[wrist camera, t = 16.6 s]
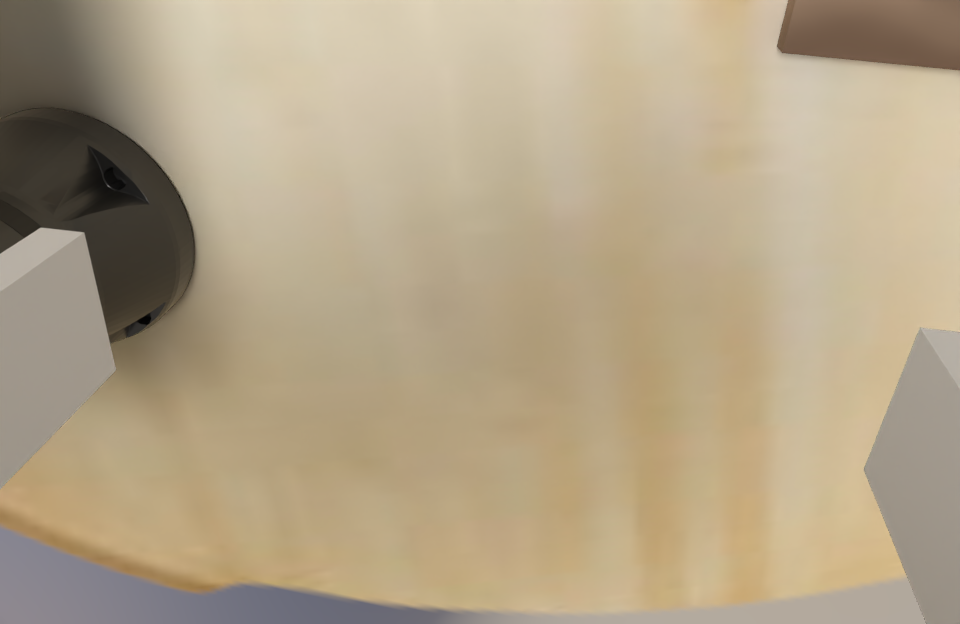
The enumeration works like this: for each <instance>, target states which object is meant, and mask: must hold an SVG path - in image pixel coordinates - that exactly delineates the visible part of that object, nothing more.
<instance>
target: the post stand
mask: <svg viewBox="0 0 960 624" xmlns="http://www.w3.org/2000/svg"><path fill="white" fill-rule="evenodd" d="M777 47H778V48H779V49H780V51H781V52H782V53H790V54H800V55H810V56H821V57H831V58H841V59H851V60H861V61H872V62H882V63H892V64H902V65H912V66H922V67H933V68H943V69H953V70H960V0H789V1H788V5H787V9H786V13H785V16H784V20H783V24H782V28H781V32H780V36H779V40H778V44H777Z"/></svg>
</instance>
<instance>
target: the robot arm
mask: <svg viewBox="0 0 960 624" xmlns="http://www.w3.org/2000/svg"><path fill="white" fill-rule="evenodd" d="M193 263H194V244H193V236H192V231H191V227H190V223H189V220H188V217H187V214H186V211H185V209H184V206H183V204H182V202H181V200H180V198H179V196H178V194H177V193H176V191H175V189H174V187H173V186H172V184H171V183H170V181H169V180H168V178H167V177H166V176H165V174H164V173H163V172H162V171H161V169H160V168H159V167H158V166H157V165H156V163H155V162H154V161H153V160H152V159H151V158H150V157H149V156H148V155H147V154H146V153H145V152H144V151H143V150H142V149H141V148H139V147H138V146H137V145H136V144H135V143H133V142H132V141H131V140H130V139H128V138H127V137H125V136H124V135H123V134H121V133H120V132H118V131H116V130H115V129H113V128H112V127H110V126H108V125H106V124H104V123H102V122H100V121H98V120H96V119H93V118H91V117H88V116H86V115H83V114H79V113H76V112H72V111H68V110H62V109H54V108H36V109H29V110H24V111H20V112H17V113H14V114H12V115H9V116H7V117H4V118H2V119H0V489H1V488H2V487H3V486H4V485H5V484H6V483H7V482H8V481H9V480H10V479H11V478H12V477H13V476H14V475H15V473H16V472H17V471H18V470H19V469H20V468H21V467H22V466H23V465H24V464H25V463H26V462H27V461H28V460H29V459H30V458H31V457H32V456H33V455H34V454H35V453H36V452H37V451H38V450H39V449H40V448H41V447H42V446H43V445H44V444H45V443H46V442H47V441H48V440H49V439H50V438H51V437H52V436H53V434H54V433H55V432H56V431H57V430H58V429H59V428H60V427H61V426H62V425H63V424H64V423H65V422H66V421H67V420H68V419H69V418H70V417H71V416H72V415H73V414H74V413H75V412H76V411H77V410H78V409H79V408H80V407H81V406H82V405H83V404H84V403H85V402H86V401H87V400H88V399H89V398H90V397H91V396H92V394H93V393H94V392H95V391H96V390H97V389H98V388H99V387H100V386H101V385H102V384H103V383H104V382H105V381H106V380H107V379H108V378H109V377H110V376H111V375H112V374H113V373H114V372H115V371H116V367H115V363H114V358H113V354H112V350H111V346H110V344H111V343H114V342H117V341H120V340H122V339H125V338H127V337H130V336H133V335H135V334H138V333H140V332H142V331H143V330H145V329H147V328H148V327H150V326H151V325H153V324H154V323H156V322H157V321H158V320H159V319H160V318H161V317H162V316H163V315H164V314H165V313H166V312H167V311H168V310H169V309H170V308H171V307H172V306H173V305H174V304H175V303H176V302H177V301H178V300H179V299H180V297H181V296H182V294H183V293H184V291H185V289H186V287H187V285H188V283H189V280H190V277H191V274H192V269H193ZM864 472H865V474H866V477H867V479H868V482H869V484H870V486H871V489H872V491H873V494H874V496H875V499H876V501H877V504H878V506H879V509H880V511H881V514H882V516H883V518H884V521H885V523H886V526H887V528H888V531H889V533H890V536H891V538H892V541H893V543H894V546H895V548H896V551H897V553H898V555H899V558H900V560H901V563H902V565H903V568H904V570H905V573H906V575H907V578H908V580H909V583H910V585H911V587H912V590H913V592H914V595H915V597H916V599H917V602H918V605H919V607H920V610H921V612H922V614H923V617H924V619H925V622H926V624H960V332H954V331H945V330H936V329H927V328H920V329H919V331H918V334H917V336H916V339H915V341H914V344H913V346H912V349H911V351H910V354H909V356H908V359H907V362H906V364H905V367H904V369H903V372H902V374H901V377H900V379H899V382H898V384H897V387H896V389H895V392H894V394H893V397H892V399H891V402H890V404H889V407H888V409H887V412H886V414H885V417H884V419H883V422H882V424H881V427H880V430H879V432H878V435H877V437H876V440H875V442H874V445H873V447H872V450H871V452H870V455H869V457H868V460H867V462H866V465H865V467H864Z"/></svg>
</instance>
